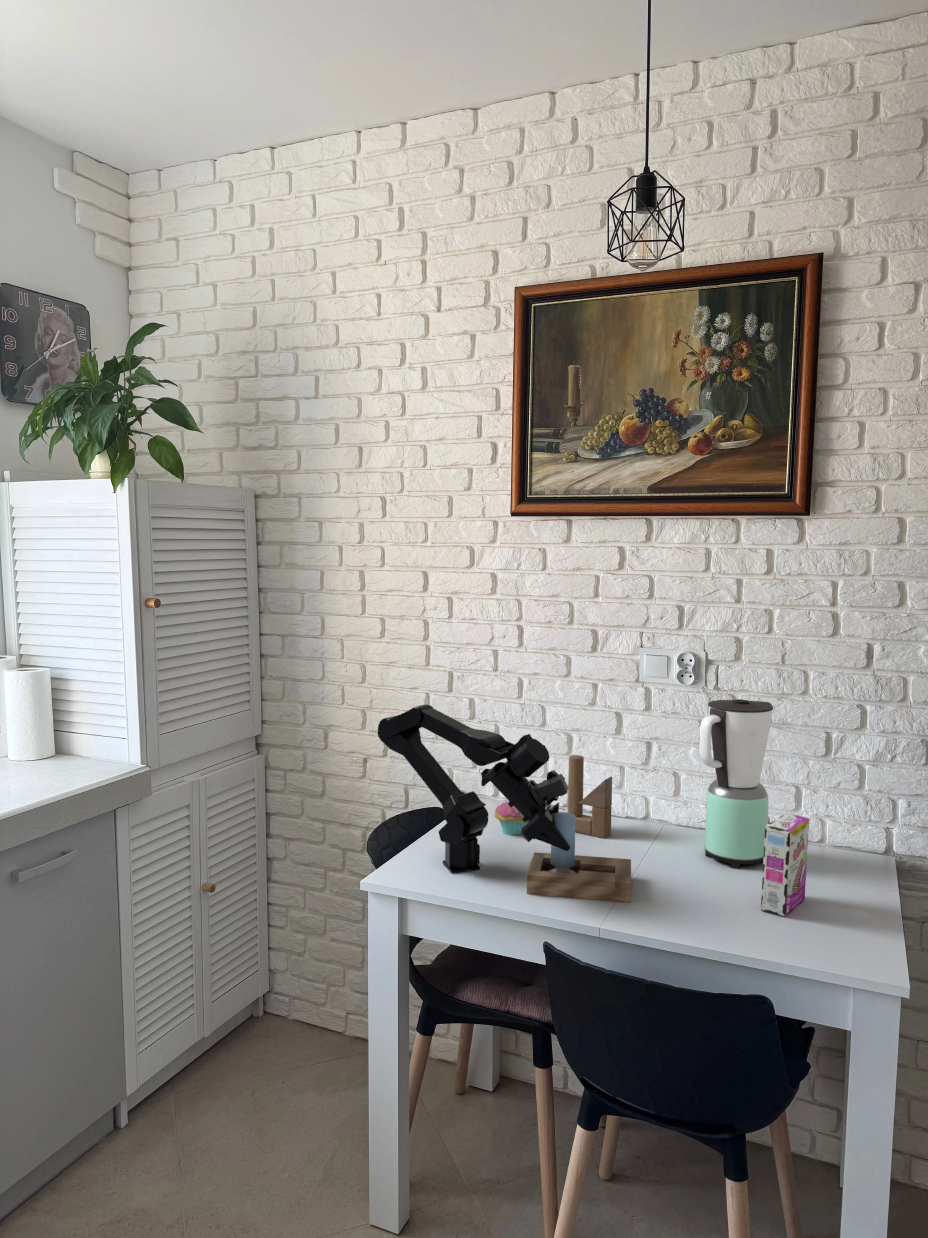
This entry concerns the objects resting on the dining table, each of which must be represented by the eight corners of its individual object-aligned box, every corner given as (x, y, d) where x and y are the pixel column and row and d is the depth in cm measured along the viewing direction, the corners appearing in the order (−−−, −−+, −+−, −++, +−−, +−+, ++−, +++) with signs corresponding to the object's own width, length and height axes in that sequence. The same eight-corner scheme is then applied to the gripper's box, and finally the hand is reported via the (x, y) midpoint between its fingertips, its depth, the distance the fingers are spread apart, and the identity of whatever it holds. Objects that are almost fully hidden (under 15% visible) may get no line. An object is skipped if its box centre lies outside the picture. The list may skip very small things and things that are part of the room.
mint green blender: (739, 843, 201) (744, 693, 198) (786, 862, 189) (792, 702, 186) (677, 857, 192) (681, 699, 189) (723, 877, 180) (728, 710, 177)
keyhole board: (526, 893, 171) (526, 875, 170) (534, 870, 183) (534, 852, 183) (630, 902, 167) (631, 883, 167) (630, 877, 180) (631, 859, 179)
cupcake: (536, 830, 209) (537, 781, 208) (519, 840, 202) (520, 789, 201) (505, 824, 214) (505, 776, 213) (487, 833, 207) (488, 784, 206)
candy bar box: (786, 918, 160) (790, 831, 159) (760, 911, 163) (763, 825, 162) (807, 900, 169) (810, 817, 167) (781, 893, 172) (784, 812, 171)
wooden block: (604, 839, 203) (606, 763, 202) (564, 830, 209) (565, 756, 208) (611, 835, 206) (613, 760, 205) (571, 826, 212) (572, 753, 211)
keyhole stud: (554, 886, 172) (556, 821, 171) (542, 875, 178) (543, 812, 176) (582, 882, 174) (583, 818, 173) (569, 872, 179) (570, 810, 178)
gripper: (539, 773, 165) (597, 834, 164) (549, 751, 184) (600, 806, 182) (498, 811, 167) (554, 871, 166) (511, 785, 186) (562, 839, 185)
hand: (569, 845), depth 175 cm, fingers closed on keyhole stud, 5 cm apart
